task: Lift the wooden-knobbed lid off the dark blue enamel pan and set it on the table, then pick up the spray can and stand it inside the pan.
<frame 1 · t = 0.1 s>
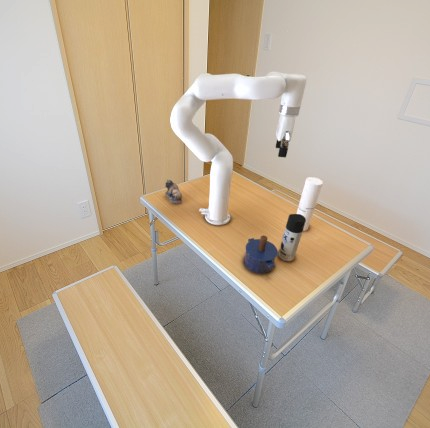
hand: (280, 152, 116), 37 cm above the table, tool pointing down, fingers open, 9 cm apart
cylindrical container: (300, 226, 136), on the table
spray can: (286, 256, 118), on the table
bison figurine: (173, 200, 150), on the table
pan lid: (261, 250, 110), point 7 cm above the table, touching pan
pan: (258, 263, 114), on the table
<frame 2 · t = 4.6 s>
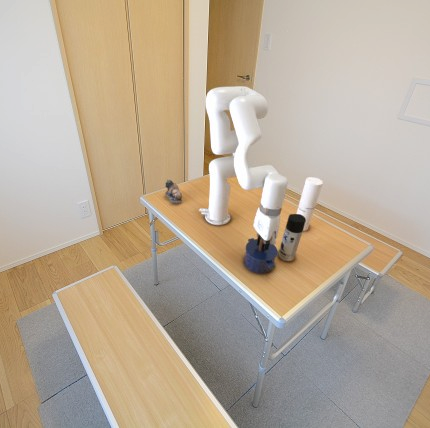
hand: (262, 247, 109), 9 cm above the table, tool pointing down, fingers closed on pan lid, 2 cm apart
pan lid: (261, 250, 110), point 7 cm above the table, touching gripper, pan
everything else where it was.
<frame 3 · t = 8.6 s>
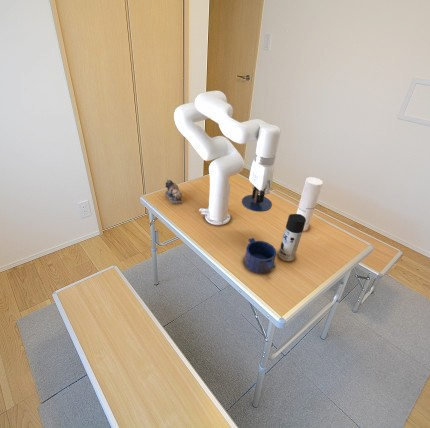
hand: (257, 199, 115), 20 cm above the table, tool pointing down, fingers closed on pan lid, 2 cm apart
pan lid: (256, 203, 116), point 19 cm above the table, touching gripper
everything else where it was.
when the fingers open (2 cm above the table, at t = 12.7 s): pan lid stays where it is, point 1 cm above the table.
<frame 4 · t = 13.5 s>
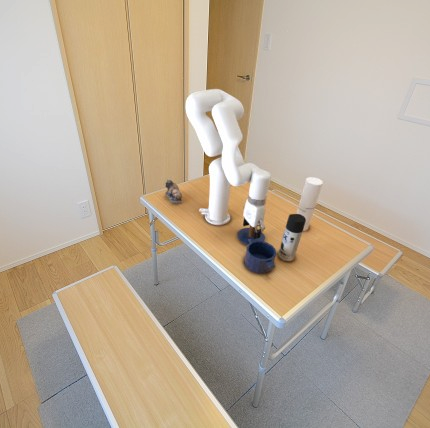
hand: (251, 231, 125), 3 cm above the table, tool pointing down, fingers open, 9 cm apart
pan lid: (251, 236, 127), point 1 cm above the table
everything else where it was.
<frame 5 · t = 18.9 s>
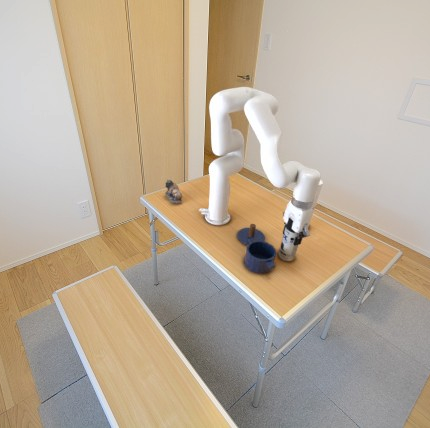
hand: (291, 238, 112), 10 cm above the table, tool pointing down, fingers closed on spray can, 6 cm apart
spray can: (286, 256, 118), on the table, touching gripper
everything else where it was.
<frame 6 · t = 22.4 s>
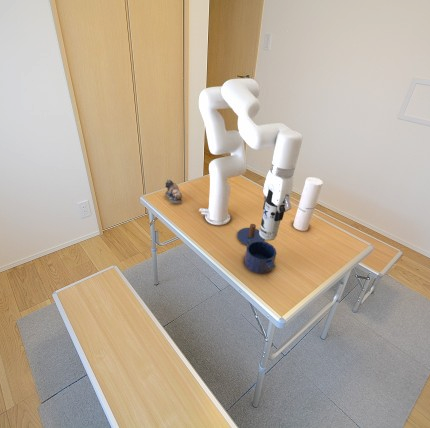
hand: (272, 214, 101), 24 cm above the table, tool pointing down, fingers closed on spray can, 6 cm apart
spray can: (267, 235, 106), point 14 cm above the table, touching gripper
everything else where it was.
when the fingers open (10 cm above the table, at t = 26.1 s): spray can stays where it is, resting on pan.
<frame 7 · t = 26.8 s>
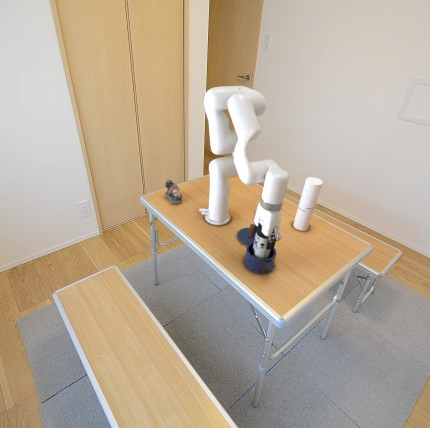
hand: (263, 240, 107), 12 cm above the table, tool pointing down, fingers open, 9 cm apart
spray can: (258, 262, 114), resting on pan
everything else where it was.
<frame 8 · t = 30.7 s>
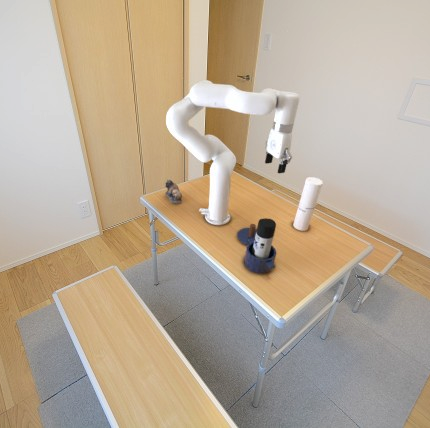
hand: (274, 167, 116), 31 cm above the table, tool pointing down, fingers open, 9 cm apart
nothing on the table moved.
at the end: pan lid inside the target area (0.2 cm from its centre), point 0.6 cm above the table; spray can 0.1 cm off-centre in the pan, point 0.3 cm above the pan's base; spray can tilted 0° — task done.
